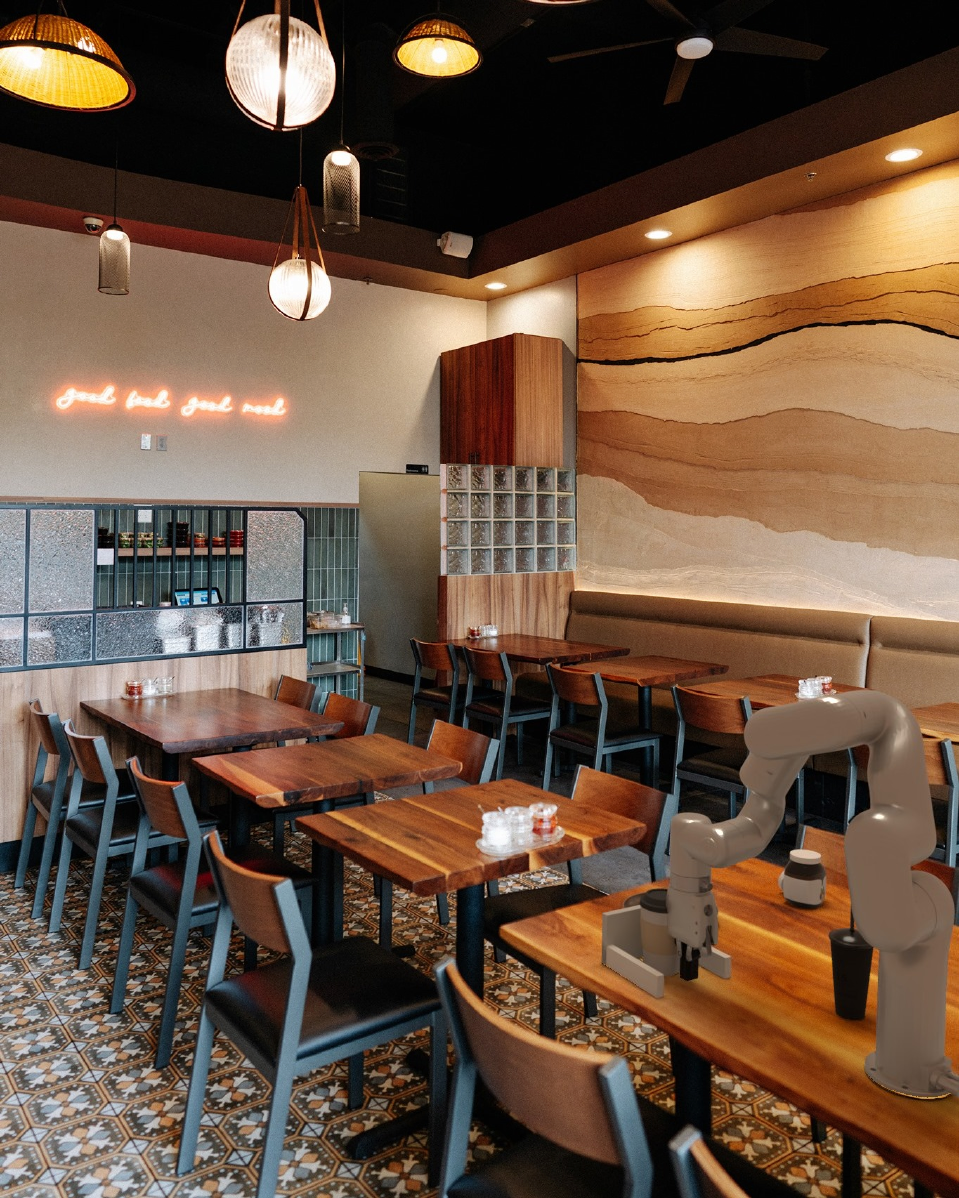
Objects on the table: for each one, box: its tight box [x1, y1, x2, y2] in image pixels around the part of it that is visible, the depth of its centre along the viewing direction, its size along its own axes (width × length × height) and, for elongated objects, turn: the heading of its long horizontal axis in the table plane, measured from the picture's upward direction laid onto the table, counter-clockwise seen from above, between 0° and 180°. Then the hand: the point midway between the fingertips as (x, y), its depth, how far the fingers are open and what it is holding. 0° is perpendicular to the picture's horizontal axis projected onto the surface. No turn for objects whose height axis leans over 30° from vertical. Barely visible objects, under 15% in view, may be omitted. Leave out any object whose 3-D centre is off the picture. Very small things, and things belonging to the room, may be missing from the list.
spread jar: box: [777, 849, 827, 910], centre depth 217 cm, size 12×11×12 cm
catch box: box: [601, 905, 732, 999], centre depth 179 cm, size 16×18×10 cm
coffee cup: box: [639, 887, 680, 977], centre depth 180 cm, size 9×9×15 cm
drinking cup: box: [828, 907, 875, 1022], centre depth 162 cm, size 8×8×20 cm
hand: (688, 978), depth 173 cm, fingers closed
